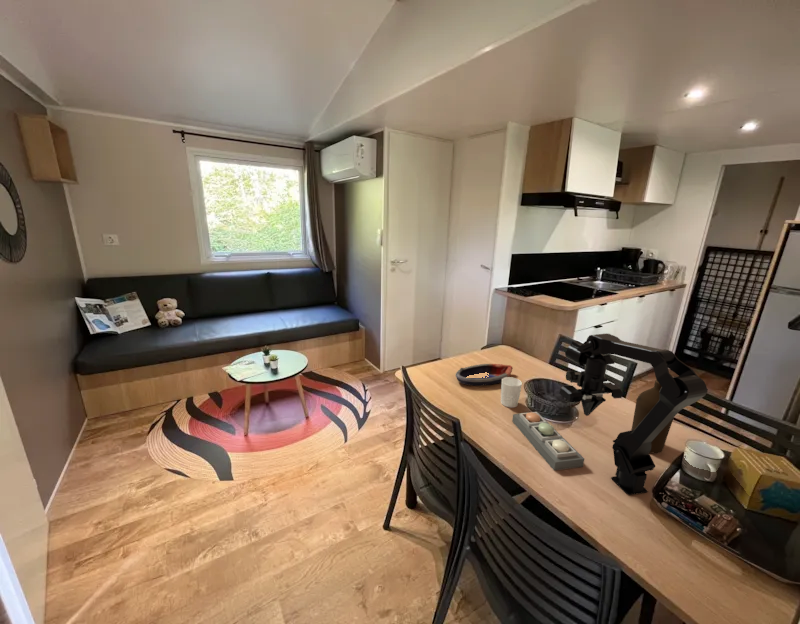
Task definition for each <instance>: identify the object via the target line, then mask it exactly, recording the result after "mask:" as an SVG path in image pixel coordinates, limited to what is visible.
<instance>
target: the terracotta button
mask: <svg viewBox="0 0 800 624" xmlns="http://www.w3.org/2000/svg"><path fill="white" fill-rule="evenodd" d="M532 412H533V411H532ZM532 412H531V411H530V413H529V412H526V413H527V414H526V419H527V420H528V421H529V422H530V423H534V422H540V416H539V415H538V414H536V413H532Z"/></svg>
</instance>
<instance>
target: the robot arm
mask: <svg viewBox="0 0 800 624" xmlns="http://www.w3.org/2000/svg"><path fill="white" fill-rule="evenodd" d="M564 353H565V354H564V355H565V357H566V359H568V360H570V361H571V362H573V363H576V364H578V365H579V366H582V367H583V366H584V370H583V371H579V372H575V371H574V370H573V371H572V370H566V373H565V380H566V381H568V382H569V383H571V384H572V383H574V384H576V385H577V387H580V388H576V387H575V386H574V385H563V386H561V387H560V389H559V395H561V396H562V397H563V398H564V399H566V400H567V401H568V402H569V403H580V402H581V405H582V410H583V414H584V415H585V416H586V417H587V416H590V415H591V414H592V413H593V412H594V411H595V410H596V409H597V408H598V407H599V406H600V405H602V403H604V402H606V398H605V397H604V395H606V394H607V395H608V394H611V397H612V399H622V397H623V390H622V388H620V387H619V386H617V385H615V384H614V383H612V382H608V377H606V371H607V366H608V365H614V364H615V360H614V359H613V358H612V356H611V355H615V356H619V357H622V358H627V359H631V360H636V361H638V362H642V363H646V364H650V365H651V366H652V368H653V372H654V375H655V376H654V377H655V380H656V379H657V381H658V382H659V384H660V385H661V386H662V387H661V389H660V391H659V397H660V399H659V401H658V402H657V403H656V405H655V406H654V407H653V408H652V409H651V410H650V412H649V413H648V414H647V415H646V416H645V418H644V419H643V420H642V421H641V422H640V424H639V425H638V426H637V427H636V428H635V429H634V430H631V429H630V430H627V431H622V432H619V434H617V437H616V438H615V439H613V440H612V442H613V444H612V447H611V448H612V450H613V458H614V459H613V461H614V465H615V467H616V472H615V476H611V478H610V479H611V480H612V482H614V483H615V484H616V485H617V486H618V487H619V488H620V489H621V490H622V491H623V493H624V492H625V493H626V495H628V496H633V495H639V494H645V493H648V489H646V487H645V484H646V480H647V477H648V474H647V473H646V472H648V471H653V470H654V469H655V468H656V464H655V463H654V461H653V458H652V457H651V453H649V452H650V450H651V442H652V441H653V439H654V438H655V437H656V436H657V435H658V434H659V433H660V432H661V431H662V430H663V429H664V428H665V426H666V425H667V424H668V423H669V422H670V421H671V420H672V419H673V418H675V417H676V416H677V415H678V413H679V412H681V411H682V410H683V409H685V408H687V407H688V406H691V405H693V404H695V403H696V402H699V401H700V400H701V399H702V398H704V397H705V396H706V395H707V393H708V387H707V384H706V383H705V381H704V380H703V379H702V377H699V375H698V374H697V373H696V372H695V370H694V369H693V368H691V367H690V366H689V365H687V364H686V363H685V362H683V361H682V360H680V359H679V358H678V356H676V354H675V353H674V352H673V351H671V350H669V349H661V348H658V347H652V346H647V345H643V344H638V343H633V342H628V341H624V340H621V339H620V338H619V337H618V336H615V335H614V334H611V333H598V334H590V335H589V336H587V338H586V341H584V342H583V343H582V342H580V341H579V340H572V341H571V344H570V345H568V346H567V348H566V350H565V352H564ZM670 371H671V372H673V373H674V374H675V375H677V376H672V374H671V373H670ZM673 420H674V419H673ZM625 493H624V494H625Z"/></svg>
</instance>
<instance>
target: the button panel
mask: <svg viewBox="0 0 800 624" xmlns="http://www.w3.org/2000/svg"><path fill="white" fill-rule="evenodd" d="M530 412H531V411H530ZM530 412H521V413H520V412H519V413H513V414H512V418H511V419H512V420H511V421H512V423H513V424H514V425H515V427H516V428H517V429H518V430H519V431H520V432H521V433H522V435H523V436H524V437H525V438H526V440H528V441H529V443H530V444H531V445H532V447H533V448H534V449H535V450H536V451H537V453H538V454H539V455H540V456H541V458H543V460H545V462H546V464H548V465H549V467H550V468H551V469H552V471H562V470H567V469H577V468H583V467H584V464H585V458H584V456H583V455H581V453H580V452H578V450H576V448H575V447H574V446H573V445H571V444H570V443H569V442H568V441H567V439H565V438H564V437H563V436H562V435H561V434H560V433H559V432H558V430H556V429H555V428H554V433H553V435H544V434H542V433H540V432H539V430H538V428H539V424H540V423H548V424H550V422H548V421H547V420H546V419H545V418H544V417H543V416H542V415H541V414H540V413H539V412H538V411H532V413H536V414H538V415H539V416H540V422H534V423H530V422H529V421H528V420H527V419H526V414H527V413H530ZM554 440H561V441H564V442H566V443H567V444H568V445H569V450H568V452H563V453H557V451H556V450H555V449H554V448H553V447H552V443H553V441H554Z"/></svg>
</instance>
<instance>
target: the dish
mask: <svg viewBox="0 0 800 624" xmlns="http://www.w3.org/2000/svg"><path fill="white" fill-rule="evenodd" d="M485 372H487V373H489V375H488V374H487V375H488V376H489V377H487V376H485V378H483V377H482V378H466V377H467V376H469V375H474V374H479V373H485ZM512 372H513V366H512V365H510V364H509V365H508V364H500V363H482V364H481V363H480V364H475V365H471V366H465V367H460V368H459V369H458V370H457V371H456V373H455V377H456V380H457V381H458V382H459V383H460V384H462V385H466V386H479V387H481V386H490V385H495V384H499V383H500V384H501V383H502V379H503V378H505V377H510V376H511V373H512ZM486 377H487V378H486Z"/></svg>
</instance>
